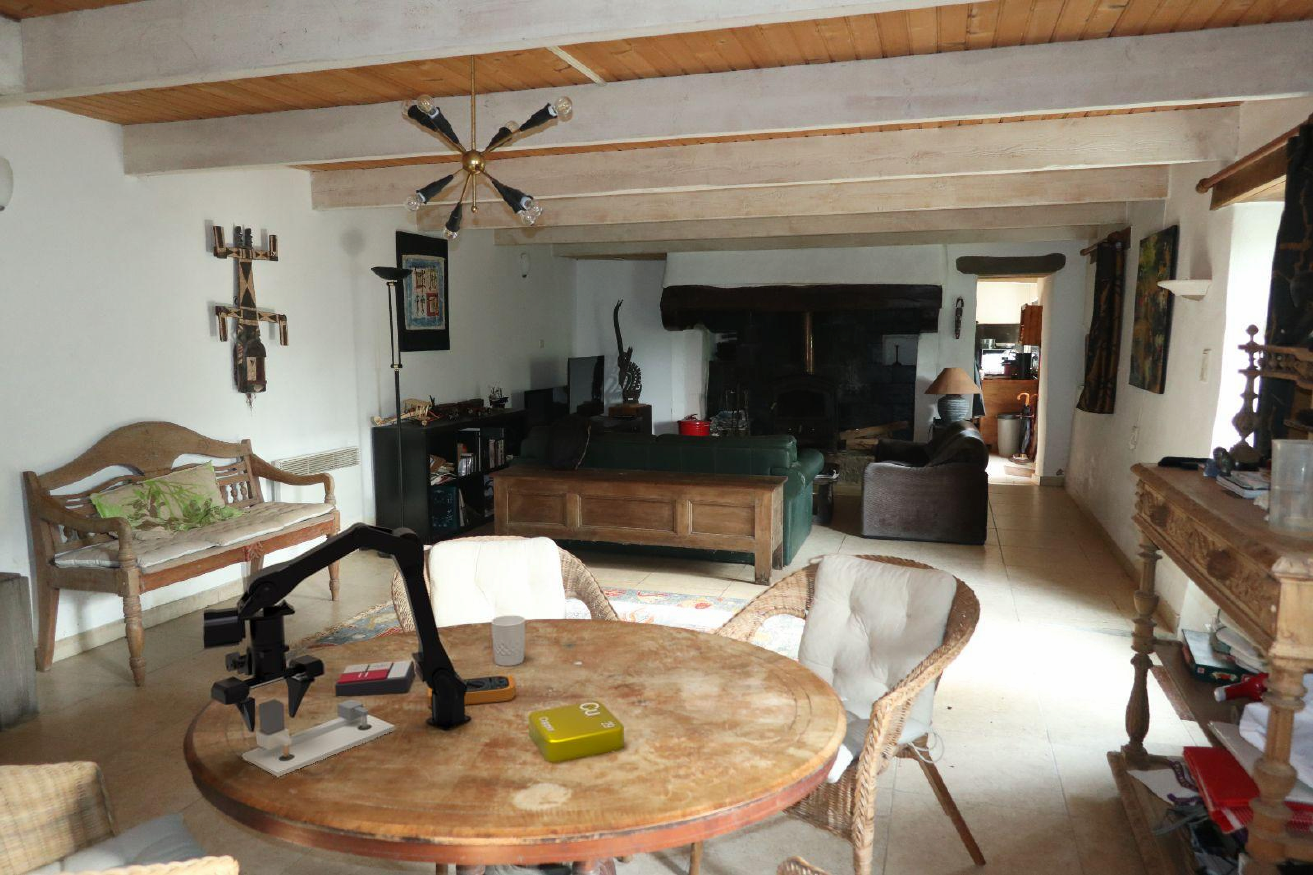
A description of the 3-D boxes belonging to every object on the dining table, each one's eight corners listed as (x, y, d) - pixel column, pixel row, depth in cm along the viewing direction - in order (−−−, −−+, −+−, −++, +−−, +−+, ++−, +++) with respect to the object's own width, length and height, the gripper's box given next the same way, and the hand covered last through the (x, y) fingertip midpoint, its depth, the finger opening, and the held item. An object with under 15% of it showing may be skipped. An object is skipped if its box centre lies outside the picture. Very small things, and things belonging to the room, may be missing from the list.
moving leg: (299, 752, 160) (297, 707, 159) (278, 760, 157) (276, 714, 156) (278, 742, 164) (275, 697, 164) (257, 749, 161) (254, 704, 160)
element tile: (526, 733, 172) (525, 709, 171) (599, 720, 178) (599, 696, 177) (549, 766, 158) (548, 740, 157) (627, 750, 164) (627, 725, 163)
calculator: (345, 664, 200) (413, 657, 202) (347, 682, 200) (415, 675, 202) (334, 682, 189) (406, 674, 191) (336, 701, 190) (408, 694, 191)
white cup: (488, 658, 212) (487, 617, 211) (520, 653, 216) (519, 613, 215) (497, 669, 205) (496, 627, 204) (530, 663, 209) (529, 622, 208)
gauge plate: (395, 730, 172) (394, 707, 172) (277, 778, 153) (276, 752, 153) (358, 715, 180) (357, 693, 179) (242, 759, 161) (241, 734, 160)
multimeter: (516, 702, 187) (516, 686, 186) (427, 711, 182) (427, 695, 182) (513, 687, 195) (512, 672, 194) (428, 695, 191) (427, 680, 190)
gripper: (292, 619, 172) (296, 698, 173) (193, 645, 157) (198, 730, 159) (324, 630, 165) (328, 711, 167) (224, 658, 150) (229, 747, 152)
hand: (272, 724), depth 161 cm, fingers open, 7 cm apart
